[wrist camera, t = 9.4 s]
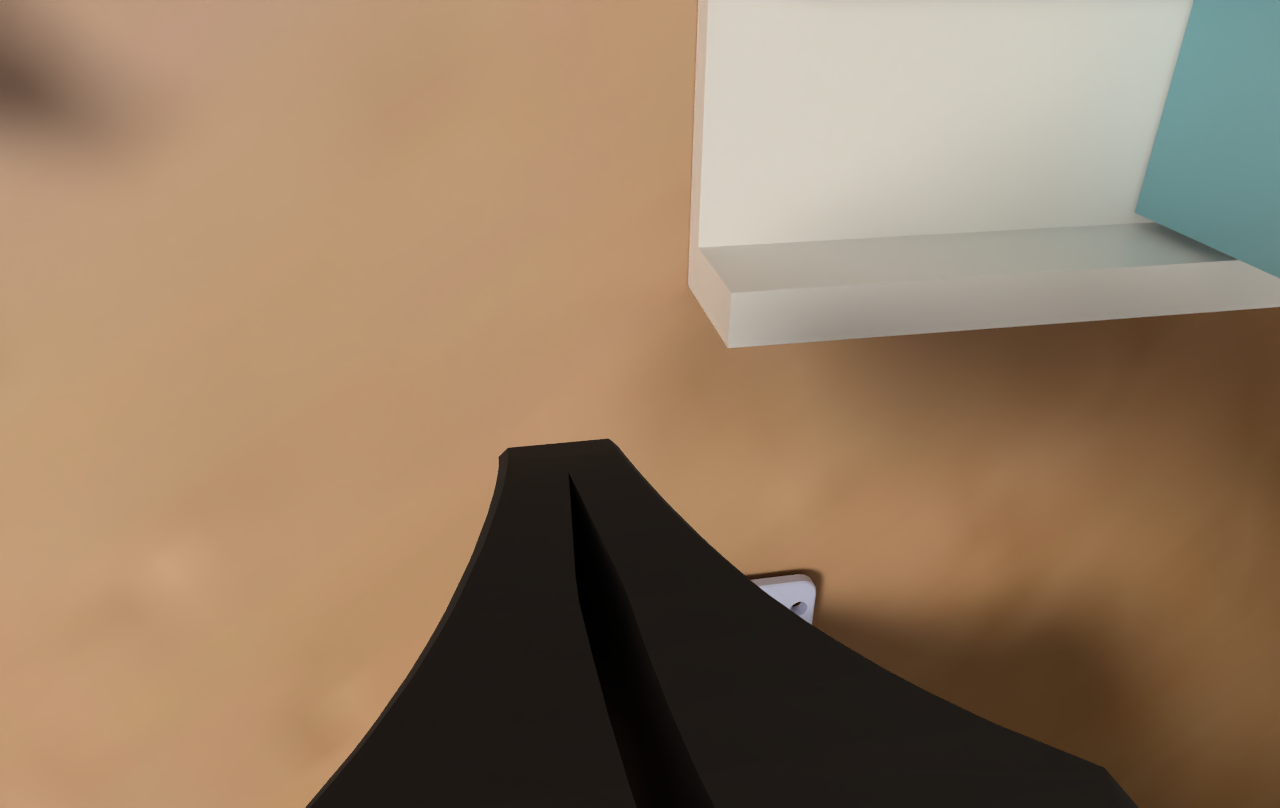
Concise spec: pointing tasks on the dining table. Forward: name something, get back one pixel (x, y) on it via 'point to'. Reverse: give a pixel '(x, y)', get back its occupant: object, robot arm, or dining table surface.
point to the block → (1222, 134)
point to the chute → (937, 169)
